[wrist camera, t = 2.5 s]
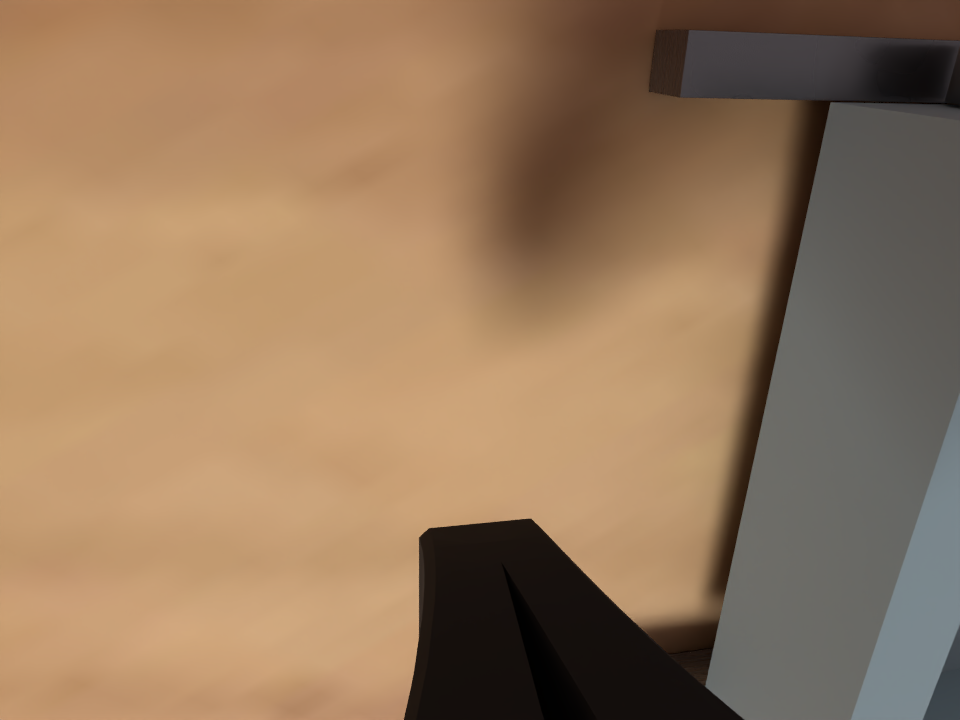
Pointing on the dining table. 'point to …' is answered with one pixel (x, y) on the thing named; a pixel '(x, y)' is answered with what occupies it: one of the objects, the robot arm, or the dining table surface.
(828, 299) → the cart
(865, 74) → the rail
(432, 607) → the robot arm
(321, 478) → the dining table surface
